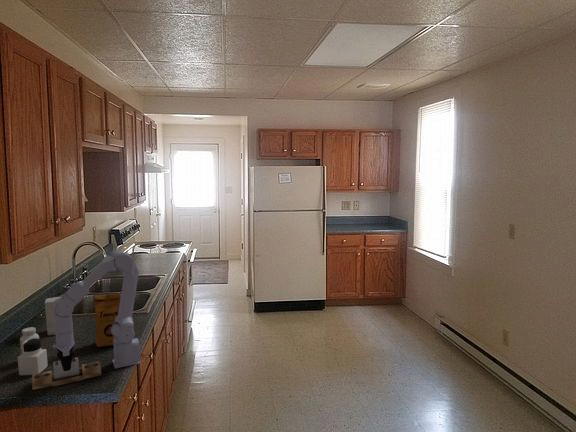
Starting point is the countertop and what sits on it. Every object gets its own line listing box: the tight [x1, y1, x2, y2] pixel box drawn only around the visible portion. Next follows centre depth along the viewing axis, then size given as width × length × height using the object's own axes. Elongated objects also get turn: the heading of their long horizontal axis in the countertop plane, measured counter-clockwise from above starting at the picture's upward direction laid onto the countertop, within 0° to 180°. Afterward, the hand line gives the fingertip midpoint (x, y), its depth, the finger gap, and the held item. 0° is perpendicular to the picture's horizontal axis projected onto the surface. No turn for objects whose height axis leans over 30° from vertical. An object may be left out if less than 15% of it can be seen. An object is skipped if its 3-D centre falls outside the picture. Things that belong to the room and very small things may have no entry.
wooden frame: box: [31, 360, 102, 391], centre depth 161 cm, size 22×7×3 cm, turn 118°
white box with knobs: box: [52, 356, 80, 381], centre depth 160 cm, size 8×4×6 cm, turn 118°
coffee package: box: [93, 292, 121, 348], centre depth 191 cm, size 10×12×22 cm
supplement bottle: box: [19, 326, 40, 355], centre depth 176 cm, size 7×7×13 cm
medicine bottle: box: [17, 338, 48, 376], centre depth 167 cm, size 7×7×12 cm
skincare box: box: [44, 296, 61, 336], centre depth 206 cm, size 8×7×16 cm
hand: (66, 367), depth 161 cm, fingers closed on white box with knobs, 4 cm apart
